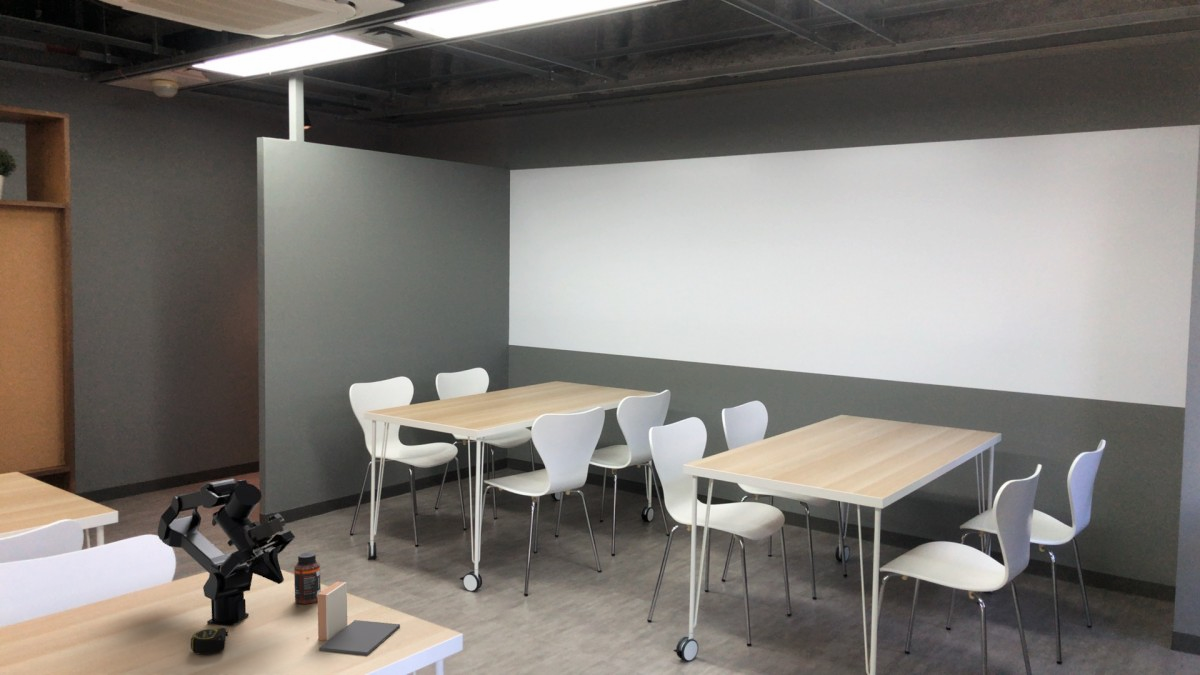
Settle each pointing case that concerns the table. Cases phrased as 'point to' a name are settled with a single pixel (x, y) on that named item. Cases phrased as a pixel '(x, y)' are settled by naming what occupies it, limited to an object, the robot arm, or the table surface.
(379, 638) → the mat
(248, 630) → the table surface
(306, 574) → the supplement bottle
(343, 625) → the tile
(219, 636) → the tape measure
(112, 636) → the table surface
